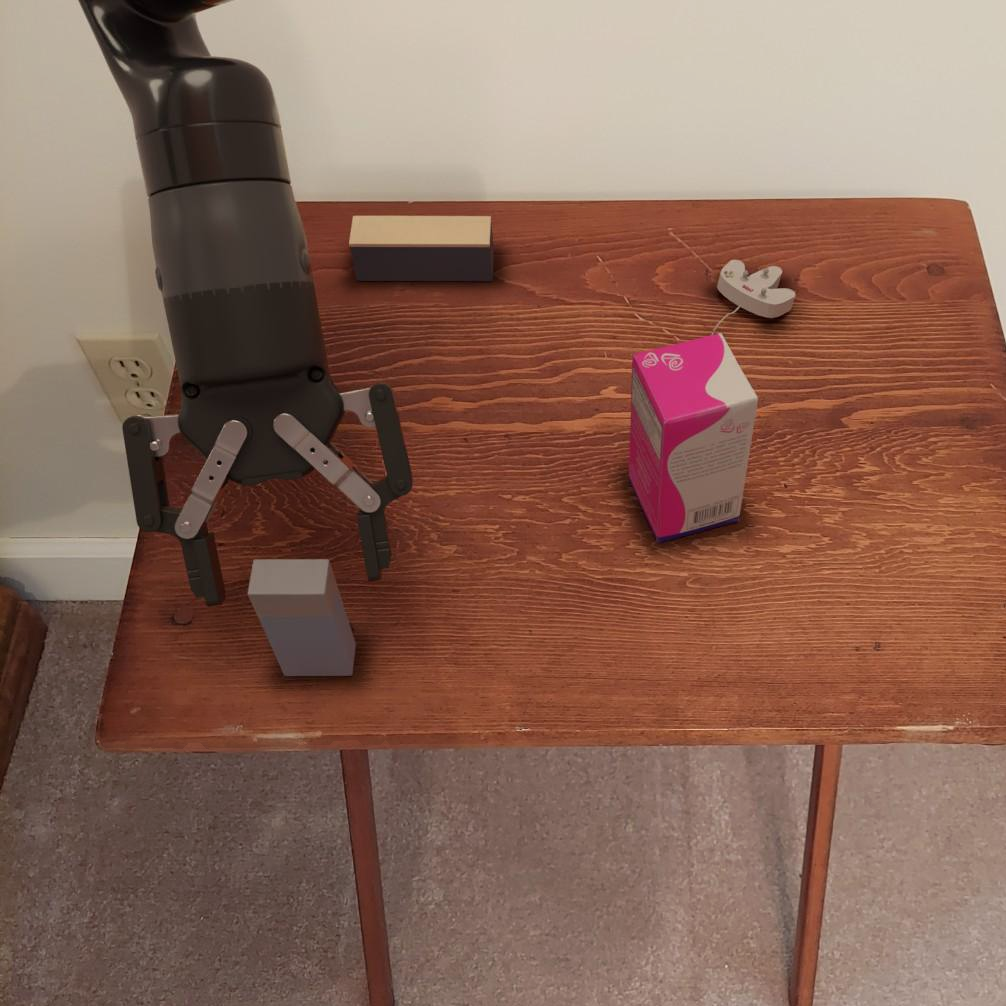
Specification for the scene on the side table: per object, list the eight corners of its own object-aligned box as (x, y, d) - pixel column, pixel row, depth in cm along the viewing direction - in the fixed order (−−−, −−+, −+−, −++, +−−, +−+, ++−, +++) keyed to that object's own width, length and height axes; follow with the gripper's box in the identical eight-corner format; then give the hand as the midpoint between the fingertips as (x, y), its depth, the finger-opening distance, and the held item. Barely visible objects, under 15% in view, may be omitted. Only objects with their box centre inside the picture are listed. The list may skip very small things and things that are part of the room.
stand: (356, 281, 87) (348, 243, 84) (360, 253, 88) (352, 215, 85) (492, 281, 87) (489, 244, 84) (494, 253, 88) (491, 215, 85)
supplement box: (707, 454, 78) (724, 328, 69) (740, 522, 75) (764, 401, 66) (624, 475, 77) (630, 350, 68) (655, 545, 74) (666, 425, 65)
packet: (283, 676, 69) (246, 594, 61) (288, 643, 70) (253, 558, 62) (352, 676, 69) (324, 594, 61) (356, 643, 70) (329, 558, 62)
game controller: (802, 286, 87) (808, 259, 85) (755, 395, 81) (759, 369, 79) (729, 265, 88) (733, 238, 86) (677, 371, 82) (680, 345, 80)
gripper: (380, 272, 64) (427, 559, 68) (114, 304, 63) (176, 597, 67) (374, 263, 57) (427, 585, 61) (73, 299, 56) (146, 628, 59)
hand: (296, 591), depth 64 cm, fingers open, 8 cm apart
